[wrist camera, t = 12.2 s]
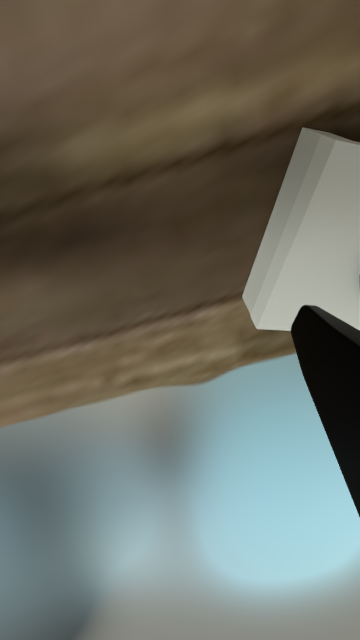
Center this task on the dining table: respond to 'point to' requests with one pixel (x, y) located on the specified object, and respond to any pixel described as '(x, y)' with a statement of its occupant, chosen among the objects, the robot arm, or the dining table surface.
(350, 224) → the plate
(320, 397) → the robot arm
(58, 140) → the dining table surface
